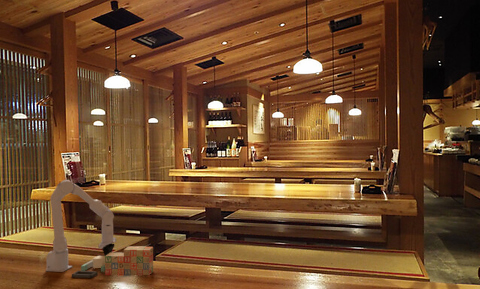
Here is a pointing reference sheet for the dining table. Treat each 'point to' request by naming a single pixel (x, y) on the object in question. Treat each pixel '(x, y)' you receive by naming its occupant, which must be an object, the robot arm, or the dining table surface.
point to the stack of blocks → (130, 262)
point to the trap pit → (84, 274)
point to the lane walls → (90, 264)
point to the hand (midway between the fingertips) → (107, 258)
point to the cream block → (98, 261)
